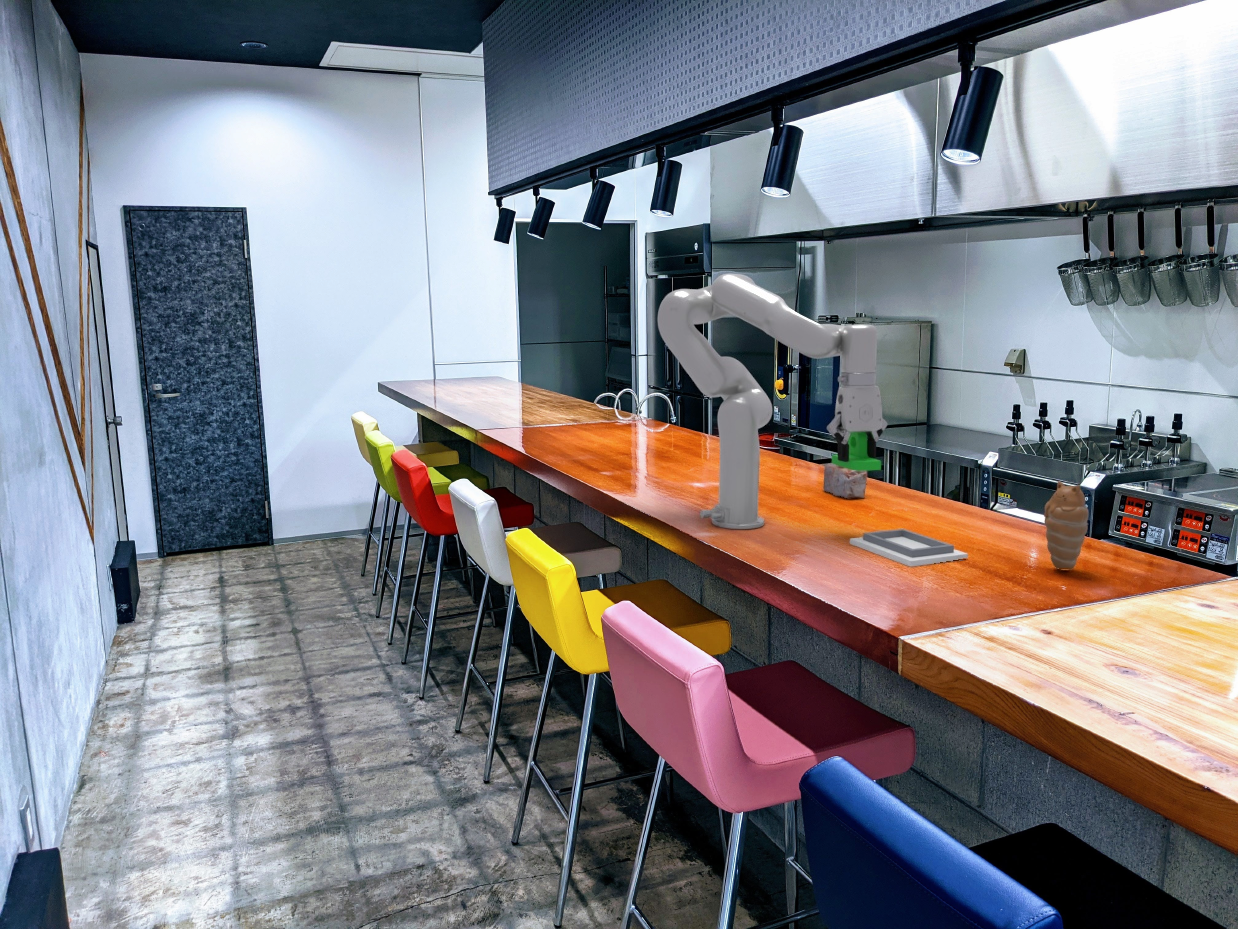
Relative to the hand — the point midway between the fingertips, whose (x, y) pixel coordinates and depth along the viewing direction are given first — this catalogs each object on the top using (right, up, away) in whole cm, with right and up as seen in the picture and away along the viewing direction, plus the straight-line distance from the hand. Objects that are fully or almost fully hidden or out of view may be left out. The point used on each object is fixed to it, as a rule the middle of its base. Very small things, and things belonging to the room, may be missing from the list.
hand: (856, 459), depth 210 cm
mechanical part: (0, -2, +1) cm, 2 cm away
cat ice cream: (+35, -23, -23) cm, 48 cm away
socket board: (+9, -20, -9) cm, 23 cm away
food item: (+9, -10, +51) cm, 53 cm away
